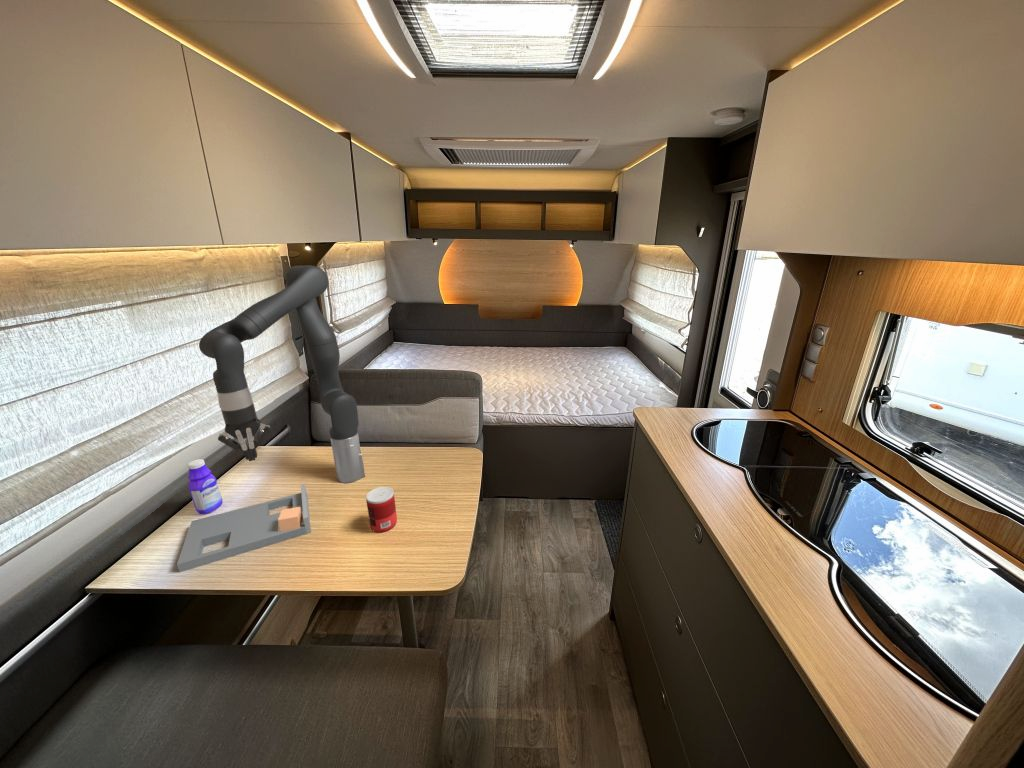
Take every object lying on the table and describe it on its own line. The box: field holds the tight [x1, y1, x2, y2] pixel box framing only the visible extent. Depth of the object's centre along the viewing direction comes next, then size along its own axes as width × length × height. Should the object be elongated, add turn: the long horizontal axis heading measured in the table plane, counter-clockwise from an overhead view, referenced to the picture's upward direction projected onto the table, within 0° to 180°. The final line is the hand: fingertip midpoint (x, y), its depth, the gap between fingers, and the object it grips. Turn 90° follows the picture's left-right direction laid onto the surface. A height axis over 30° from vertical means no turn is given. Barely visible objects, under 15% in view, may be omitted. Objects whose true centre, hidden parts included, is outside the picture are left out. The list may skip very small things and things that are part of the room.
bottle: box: [187, 458, 224, 515], centre depth 127 cm, size 7×6×17 cm
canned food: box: [365, 486, 398, 534], centre depth 119 cm, size 8×8×11 cm
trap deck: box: [176, 483, 312, 573], centre depth 118 cm, size 31×20×6 cm, turn 119°
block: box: [278, 507, 303, 532], centre depth 117 cm, size 5×5×4 cm
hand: (252, 459), depth 115 cm, fingers closed
